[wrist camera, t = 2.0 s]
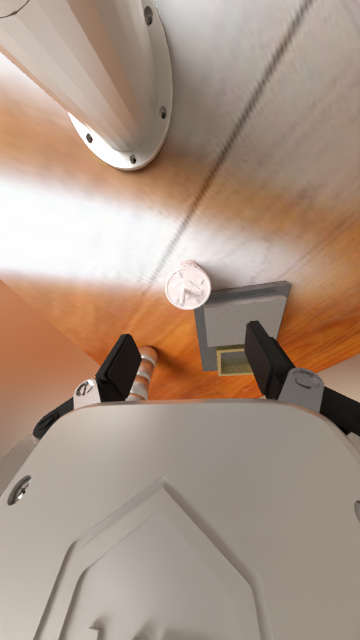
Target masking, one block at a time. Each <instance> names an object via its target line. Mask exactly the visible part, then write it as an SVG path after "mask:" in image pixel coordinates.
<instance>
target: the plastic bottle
mask: <svg viewBox="0 0 360 640" xmlns="http://www.w3.org/2000/svg"><path fill="white" fill-rule="evenodd" d="M138 350H139V352H140V354H141V356H142V361H141V364H140V367H139V369H138V372H137V375H136V377H135V380H134V383H133V386H132V388H131V391H130V394H129V396H128V398H126V400H125V401H146V400H147V399H148V390H149V385H150V379H151V376H152V373H153V370H154V368H155V366H156V364H157V361H158V355H157V352H156V351H155V350H154V349H153V348H151V347H148V346H143V347H141V348H139V349H138Z"/></svg>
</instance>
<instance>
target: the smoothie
mask: <svg viewBox="0 0 360 640" xmlns="http://www.w3.org/2000/svg"><path fill="white" fill-rule="evenodd" d="M165 292H166V295H167V298H168V299H169V301H170V302H171V303H172V304H173V305H174V306H176V307H178V308H181V309H185V310H191V309H195V308H198V307H200V306H201V305H203V304H204V303H205V302H206V301H207V299H208V298H209V296H210V292H211V282H210V278H209V276H208V274H207V273H206V272H205V271H204V270H203V269H202V268H200V267H199V266H198V265H197V264H196V263H195V262H194V261H192V260H186V261H184V262H182V263H181V265H180V266H178V267H176V268H175V269H173V270H172V271H171V273H170V274H169V276H168V277H167V280H166V284H165Z"/></svg>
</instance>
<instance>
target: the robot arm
mask: <svg viewBox="0 0 360 640" xmlns="http://www.w3.org/2000/svg"><path fill="white" fill-rule="evenodd" d="M149 23H152V24H151V25H150V26H149ZM0 52H1V53H2V54H3V55H4V56H6V57H7V58H8V59H9V60H10V61H11V62H12V63H13V64H15V65H16V66H17V67H18V68H19V69H20V70H21V71H22V72H24V73H25V74H26V75H27V76H28V77H29V78H30V79H31V80H33V81H34V82H35V83H36V84H37V85H38V86H39V87H40V88H42V89H43V90H44V91H45V92H46V93H47V94H48V95H49V96H51V97H52V98H53V99H54V100H55V101H56V102H57V103H58V104H59V105H61V106H62V107H63V108H64V109H65V110H66V111H67V112H68V114H69V116H70V118H71V121H72V123H73V125H74V126H75V128H76V130H77V132H78V133H79V135H80V137H81V138H82V139H83V141H84V142H85V143H86V145H87V146H88V148H89V149H90V150H91V151H92V152H93V153H94V154H95V155H96V156H97V157H98V158H100V159H101V160H102V161H104V162H105V163H107V164H108V165H110V166H112V167H113V168H116V169H119V170H122V171H134V170H138V169H141V168H143V167H145V166H146V165H148V164H149V163H150V162H151V161H152V160H153V159H154V158H155V157H156V155H157V154H158V152H159V151H160V149H161V147H162V145H163V143H164V141H165V139H166V136H167V132H168V129H169V125H170V120H171V114H172V104H173V82H172V69H171V62H170V55H169V50H168V46H167V41H166V37H165V33H164V29H163V27H162V24H161V21H160V18H159V15H158V12H157V10H156V8H155V6H154V4H153V2H152V0H0ZM163 114H165V115H166V118H164V119H163V118H162V116H163ZM92 139H93V143H92ZM134 159H136V163H135V164H134ZM244 352H245V355H246V357H247V359H248V362H249V364H250V367H251V369H252V371H253V374H254V376H255V379H256V381H257V384H258V386H259V388H260V391H261V393H262V394H263V395H265V396H266V398H267V399H185V400H146V401H125V400H126V398H128V396H129V394H130V391H131V388H132V386H133V383H134V380H135V377H136V375H137V372H138V369H139V367H140V364H141V361H142V356H141V354H140V352H139V350H138V348H137V346H136V344H135V342H134V340H133V338H132V336H131V335H129V334H122V335H121V336H120V338H119V339H118V341H117V342H116V344H115V345H114V347H113V349H112V350H111V352H110V353H109V355H108V356H107V358H106V360H105V361H104V363H103V364H102V366H101V367H100V369H99V371H98V372H97V374H96V375H95V376H96V378H95V379H87V380H85V381H84V382H82V383H81V384H80V385H79V386H78V387H77V388H76V389H75V391H74V395H73V397H72V398H71V399H69V400H68V401H66V402H65V403H63V404H62V405H60V406H59V407H57V408H56V409H54V410H53V411H51V412H50V413H48V414H47V415H45V416H44V417H43V418H42V419H41V420H40V421H39V422H38V423H37V425H36V426H35V428H34V431H33V434H32V435H31V434H28V435H27V436H26V437H25V438H24V439H23V440H22V441H21V442H19V444H17V445H16V446H15V447H14V448H13V449H12V450H10V451H9V452H8V453H7V454H6V455H5V456H4V457H3V458H2V459H0V640H360V403H359V402H357V401H354V400H353V399H350V398H348V397H346V396H344V395H342V394H340V393H338V392H336V391H334V390H331V389H329V388H327V387H325V386H324V383H323V381H322V379H321V378H320V377H319V376H318V375H317V374H315V373H314V372H312V371H310V370H308V369H304V368H296V367H295V366H294V364H293V363H292V362H291V360H290V359H289V357H288V356H287V355H286V353H285V352H284V351H283V349H282V348H281V346H280V345H279V344H278V342H277V341H276V340H275V338H274V337H269V335H268V334H267V332H266V331H265V329H264V328H263V326H262V325H261V324H260V322H259V321H258V320H256V321H249V323H247V324H246V334H245V345H244ZM355 502H356V503H355Z"/></svg>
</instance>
